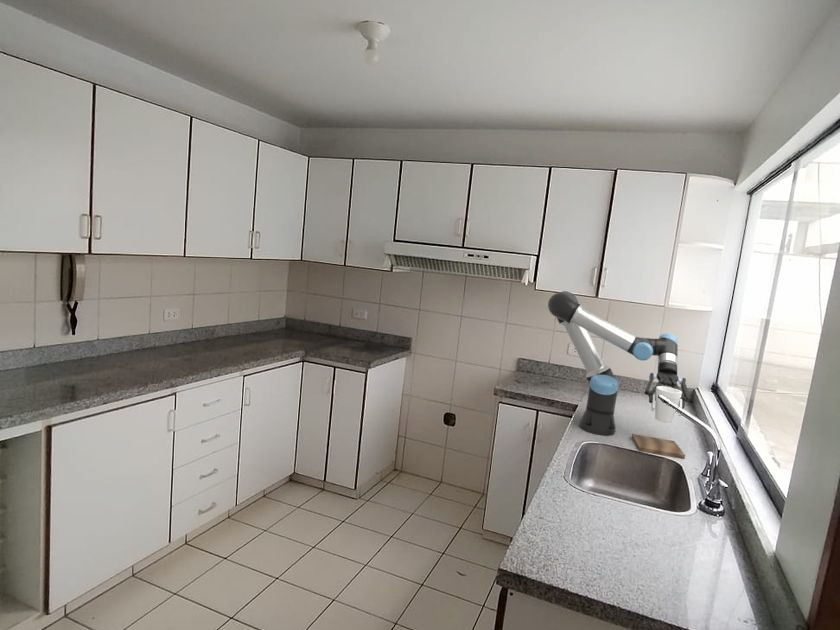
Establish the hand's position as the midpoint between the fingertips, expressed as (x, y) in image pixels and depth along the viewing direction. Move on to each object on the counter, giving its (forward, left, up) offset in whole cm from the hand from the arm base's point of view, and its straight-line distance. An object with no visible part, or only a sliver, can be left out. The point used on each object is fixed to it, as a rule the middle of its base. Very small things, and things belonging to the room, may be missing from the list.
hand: (666, 412), depth 207 cm
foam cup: (0, +3, -5) cm, 6 cm away
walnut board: (0, +3, -16) cm, 17 cm away
